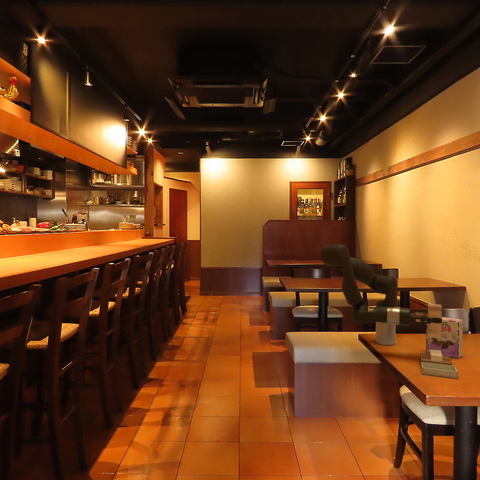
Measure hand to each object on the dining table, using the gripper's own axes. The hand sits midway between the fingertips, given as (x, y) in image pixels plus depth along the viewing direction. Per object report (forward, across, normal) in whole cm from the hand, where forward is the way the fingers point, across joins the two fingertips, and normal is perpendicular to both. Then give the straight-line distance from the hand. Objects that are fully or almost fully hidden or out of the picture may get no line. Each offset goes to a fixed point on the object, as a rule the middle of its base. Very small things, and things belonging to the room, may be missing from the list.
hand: (441, 319), depth 170 cm
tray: (-2, -18, +18) cm, 25 cm away
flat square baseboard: (-2, -8, +18) cm, 20 cm away
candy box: (+2, +10, +18) cm, 21 cm away
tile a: (-2, -7, +14) cm, 16 cm away
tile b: (-2, -11, +15) cm, 19 cm away
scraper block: (-3, 0, +7) cm, 7 cm away
